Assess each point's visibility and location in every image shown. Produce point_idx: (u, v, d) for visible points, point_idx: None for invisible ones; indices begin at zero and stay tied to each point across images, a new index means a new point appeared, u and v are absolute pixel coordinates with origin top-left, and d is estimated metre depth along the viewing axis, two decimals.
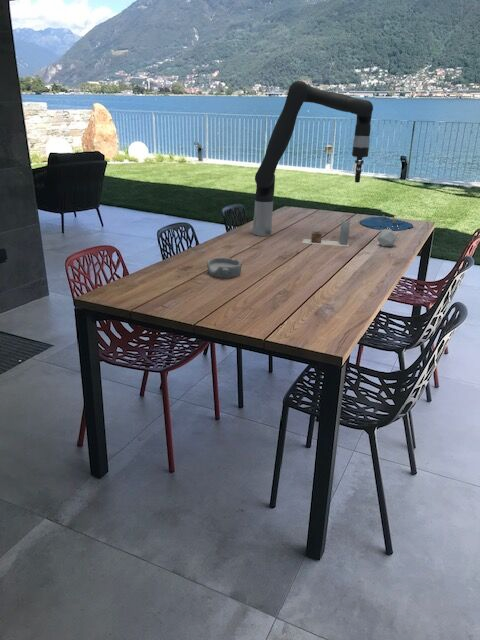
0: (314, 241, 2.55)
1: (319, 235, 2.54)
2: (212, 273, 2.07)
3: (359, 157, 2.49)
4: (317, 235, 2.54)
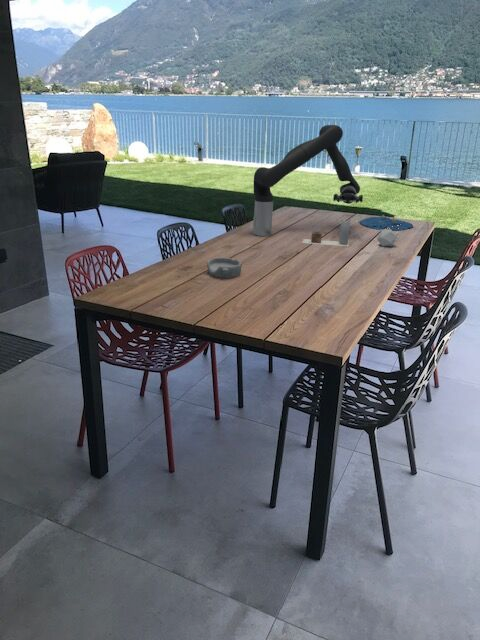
0: (314, 241, 2.55)
1: (319, 235, 2.54)
2: (212, 273, 2.07)
3: None
4: (317, 235, 2.54)
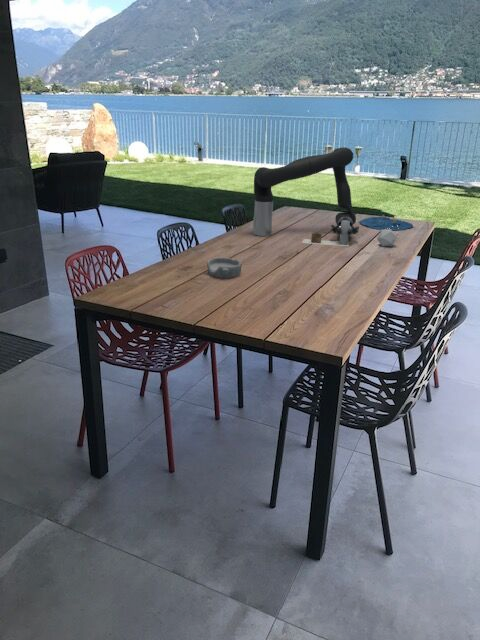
0: (314, 241, 2.55)
1: (319, 235, 2.54)
2: (212, 273, 2.07)
3: None
4: (317, 235, 2.54)
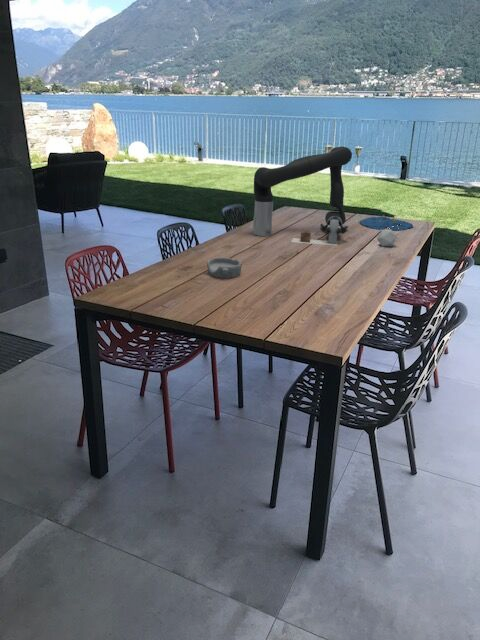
0: (303, 240, 2.56)
1: (308, 234, 2.54)
2: (212, 273, 2.07)
3: None
4: (306, 234, 2.55)
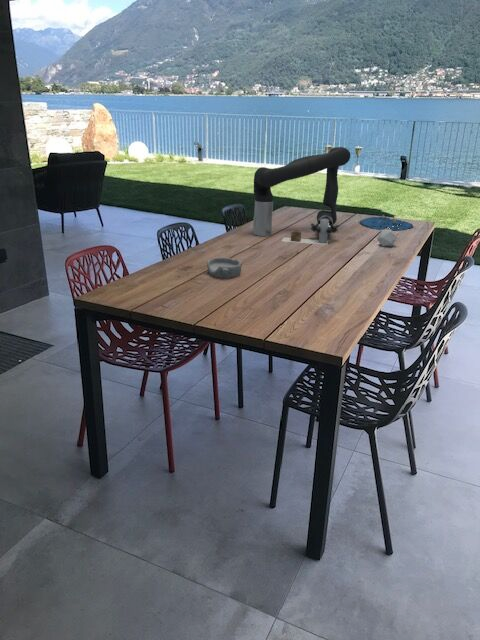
0: (293, 240, 2.57)
1: (298, 234, 2.55)
2: (212, 273, 2.07)
3: None
4: (296, 234, 2.55)
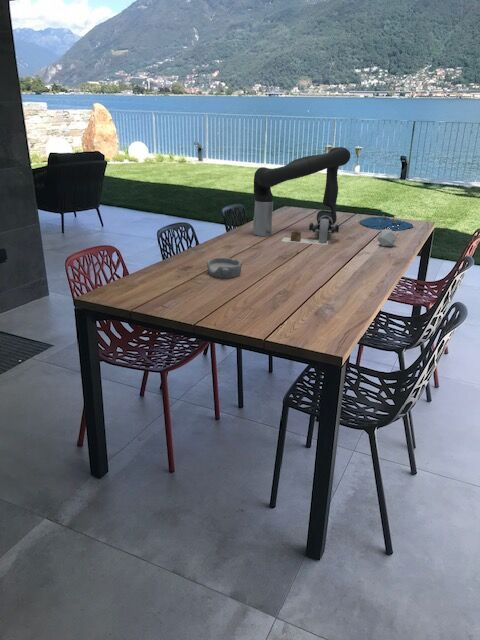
0: (293, 240, 2.57)
1: (298, 234, 2.55)
2: (212, 273, 2.07)
3: None
4: (296, 234, 2.55)
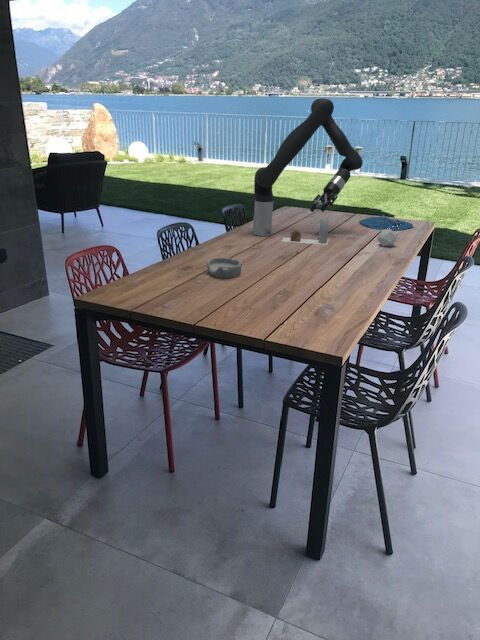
0: (293, 240, 2.57)
1: (298, 234, 2.55)
2: (212, 273, 2.07)
3: (333, 193, 2.63)
4: (296, 234, 2.55)
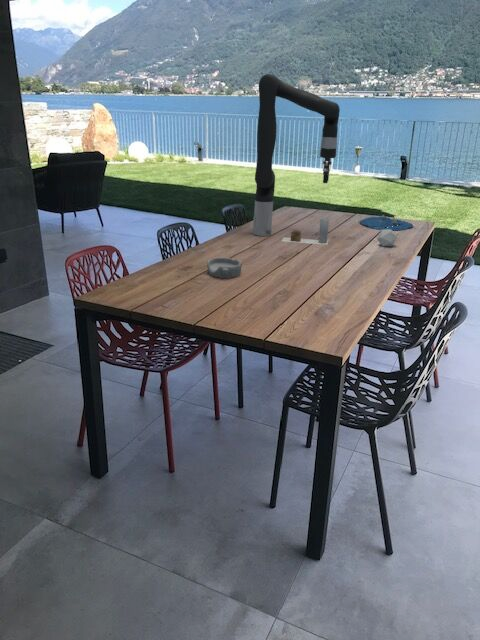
0: (293, 240, 2.57)
1: (298, 234, 2.55)
2: (212, 273, 2.07)
3: (326, 158, 2.52)
4: (296, 234, 2.55)
